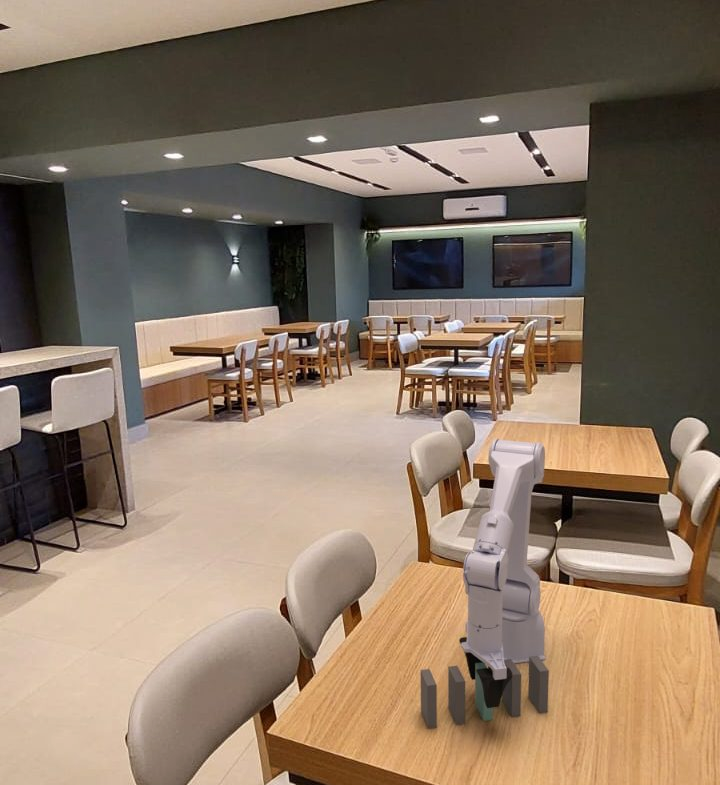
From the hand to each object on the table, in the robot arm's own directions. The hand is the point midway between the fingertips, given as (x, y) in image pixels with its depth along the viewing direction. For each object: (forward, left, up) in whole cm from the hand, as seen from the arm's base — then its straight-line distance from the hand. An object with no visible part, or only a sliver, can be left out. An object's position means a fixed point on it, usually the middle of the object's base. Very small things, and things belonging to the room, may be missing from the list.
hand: (484, 691), depth 107 cm
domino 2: (+5, 0, -4) cm, 6 cm away
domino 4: (-10, 0, -4) cm, 11 cm away
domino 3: (-5, 0, -4) cm, 6 cm away
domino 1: (+10, 0, -4) cm, 11 cm away
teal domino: (0, 0, -4) cm, 4 cm away
